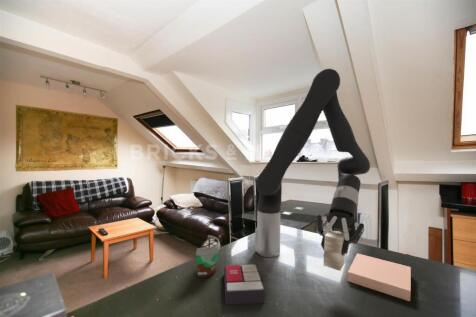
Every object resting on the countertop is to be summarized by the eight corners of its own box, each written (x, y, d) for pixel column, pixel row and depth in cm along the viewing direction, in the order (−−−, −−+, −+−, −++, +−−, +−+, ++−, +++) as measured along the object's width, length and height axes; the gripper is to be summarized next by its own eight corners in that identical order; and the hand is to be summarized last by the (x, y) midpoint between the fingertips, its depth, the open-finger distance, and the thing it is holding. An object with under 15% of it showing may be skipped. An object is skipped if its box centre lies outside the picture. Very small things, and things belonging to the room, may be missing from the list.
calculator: (256, 262, 78) (265, 287, 63) (256, 275, 78) (265, 303, 63) (224, 264, 77) (225, 289, 62) (224, 277, 77) (225, 305, 62)
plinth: (347, 280, 73) (347, 271, 73) (356, 261, 86) (357, 253, 85) (410, 301, 63) (410, 291, 63) (410, 275, 76) (410, 267, 76)
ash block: (323, 265, 67) (324, 235, 67) (327, 259, 71) (329, 231, 70) (340, 270, 64) (341, 239, 64) (343, 264, 68) (345, 234, 67)
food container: (214, 281, 72) (214, 250, 72) (196, 279, 73) (195, 249, 73) (224, 262, 84) (224, 236, 84) (208, 260, 86) (208, 234, 85)
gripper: (320, 193, 77) (306, 239, 68) (368, 199, 69) (359, 253, 60) (324, 205, 82) (311, 250, 73) (370, 213, 73) (361, 264, 64)
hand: (333, 251), depth 66 cm, fingers closed on ash block, 4 cm apart
